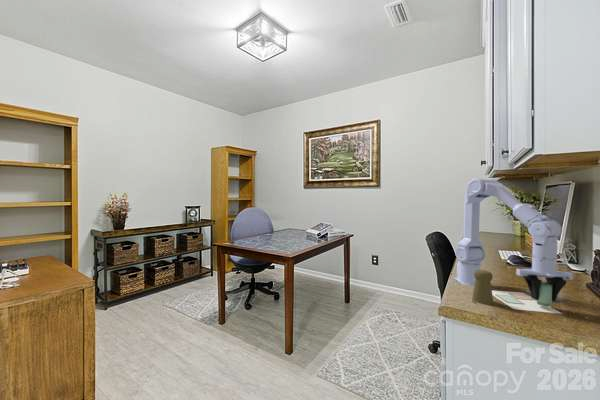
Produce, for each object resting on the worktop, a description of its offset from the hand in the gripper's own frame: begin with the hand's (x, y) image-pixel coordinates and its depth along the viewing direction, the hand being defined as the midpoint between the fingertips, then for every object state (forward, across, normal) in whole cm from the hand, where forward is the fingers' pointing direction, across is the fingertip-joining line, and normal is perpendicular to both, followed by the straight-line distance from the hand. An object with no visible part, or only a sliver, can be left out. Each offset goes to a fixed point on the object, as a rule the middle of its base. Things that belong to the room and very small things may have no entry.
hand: (543, 299), depth 82 cm
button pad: (+3, +7, +11) cm, 13 cm away
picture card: (+3, -4, +5) cm, 7 cm away
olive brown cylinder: (+3, -17, +1) cm, 17 cm away
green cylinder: (+2, 0, 0) cm, 2 cm away
